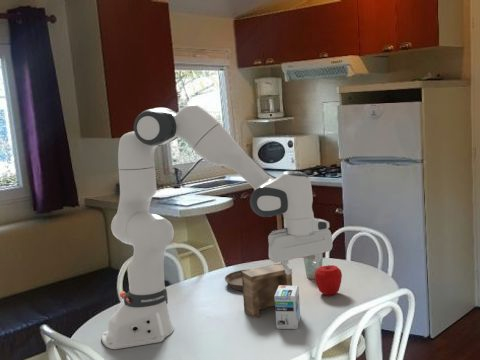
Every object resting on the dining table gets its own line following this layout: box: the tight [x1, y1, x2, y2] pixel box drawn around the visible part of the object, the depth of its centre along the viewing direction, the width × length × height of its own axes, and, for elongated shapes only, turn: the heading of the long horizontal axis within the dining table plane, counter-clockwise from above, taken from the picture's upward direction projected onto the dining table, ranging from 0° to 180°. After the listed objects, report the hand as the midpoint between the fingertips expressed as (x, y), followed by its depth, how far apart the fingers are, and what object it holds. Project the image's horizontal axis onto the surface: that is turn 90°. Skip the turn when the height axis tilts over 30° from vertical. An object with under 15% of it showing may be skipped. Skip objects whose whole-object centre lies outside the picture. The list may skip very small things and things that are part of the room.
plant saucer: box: [224, 268, 251, 292], centre depth 225 cm, size 21×21×3 cm
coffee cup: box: [302, 253, 324, 280], centre depth 227 cm, size 9×8×12 cm
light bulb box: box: [274, 285, 301, 330], centre depth 183 cm, size 11×7×11 cm, turn 168°
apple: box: [314, 264, 343, 297], centre depth 207 cm, size 10×10×11 cm
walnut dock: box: [242, 262, 293, 319], centre depth 195 cm, size 15×8×14 cm, turn 114°
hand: (302, 270), depth 172 cm, fingers open, 8 cm apart
